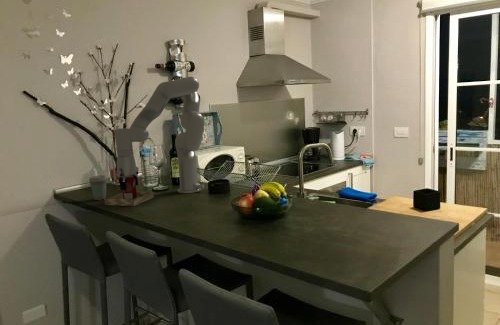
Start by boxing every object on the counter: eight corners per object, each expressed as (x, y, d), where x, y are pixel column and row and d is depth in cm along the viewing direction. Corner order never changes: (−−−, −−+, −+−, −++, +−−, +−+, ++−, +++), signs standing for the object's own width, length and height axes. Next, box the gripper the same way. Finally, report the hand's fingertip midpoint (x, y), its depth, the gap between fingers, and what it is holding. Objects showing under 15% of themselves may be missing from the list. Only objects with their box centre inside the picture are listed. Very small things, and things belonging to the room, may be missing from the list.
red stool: (133, 201, 204) (130, 177, 203) (120, 201, 206) (118, 177, 204) (139, 197, 211) (137, 174, 209) (127, 197, 212) (124, 174, 211)
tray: (154, 197, 214) (153, 192, 213) (134, 206, 198) (133, 200, 197) (126, 196, 219) (125, 191, 219) (104, 204, 203) (104, 199, 203)
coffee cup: (105, 200, 212) (102, 177, 210) (88, 201, 212) (86, 178, 211) (111, 197, 221) (108, 174, 219) (95, 197, 221) (92, 175, 219)
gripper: (129, 151, 214) (133, 183, 217) (107, 156, 198) (112, 191, 201) (141, 150, 212) (145, 183, 214) (120, 156, 196) (125, 191, 198)
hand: (129, 187), depth 208 cm, fingers open, 9 cm apart
